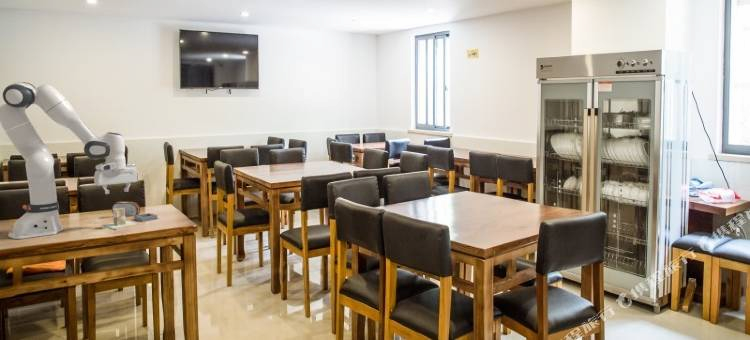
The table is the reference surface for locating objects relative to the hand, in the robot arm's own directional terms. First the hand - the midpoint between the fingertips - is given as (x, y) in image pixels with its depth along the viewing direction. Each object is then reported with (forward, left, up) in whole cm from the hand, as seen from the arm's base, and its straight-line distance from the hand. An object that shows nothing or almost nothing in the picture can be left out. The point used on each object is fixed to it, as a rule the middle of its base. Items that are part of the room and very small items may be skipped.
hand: (116, 192), depth 274 cm
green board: (0, 0, -17) cm, 17 cm away
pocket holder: (+14, +1, -17) cm, 22 cm away
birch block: (0, 0, -16) cm, 16 cm away
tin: (+12, +19, -17) cm, 28 cm away
